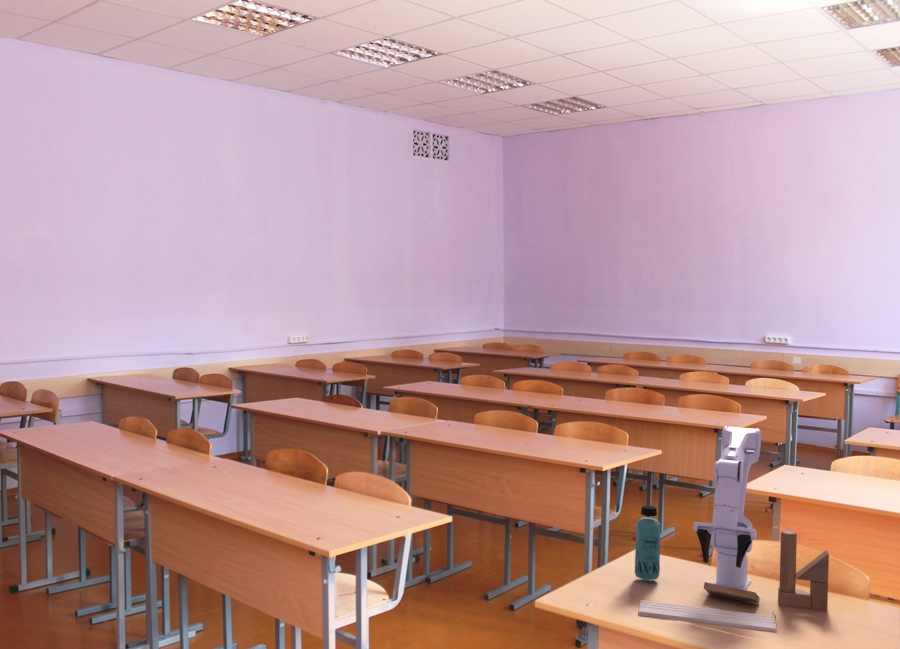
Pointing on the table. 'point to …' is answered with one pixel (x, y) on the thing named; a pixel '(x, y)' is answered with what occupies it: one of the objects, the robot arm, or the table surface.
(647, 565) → the beverage bottle
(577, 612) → the table surface
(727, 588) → the plank
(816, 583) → the wooden block
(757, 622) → the baseboard
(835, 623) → the table surface
